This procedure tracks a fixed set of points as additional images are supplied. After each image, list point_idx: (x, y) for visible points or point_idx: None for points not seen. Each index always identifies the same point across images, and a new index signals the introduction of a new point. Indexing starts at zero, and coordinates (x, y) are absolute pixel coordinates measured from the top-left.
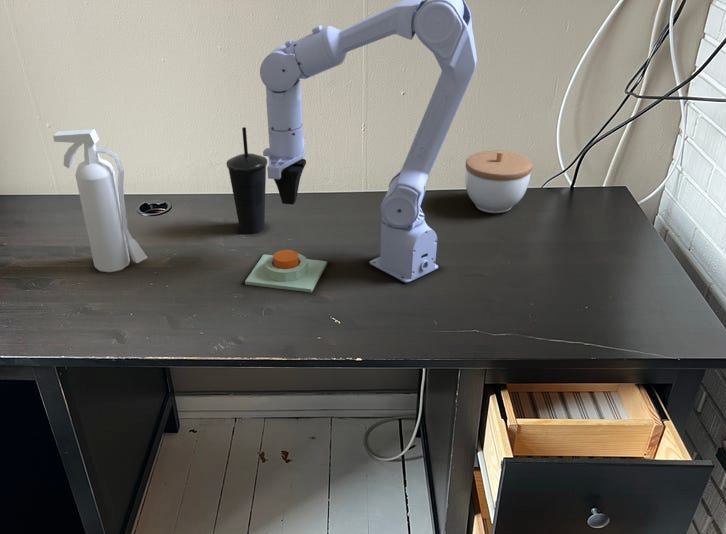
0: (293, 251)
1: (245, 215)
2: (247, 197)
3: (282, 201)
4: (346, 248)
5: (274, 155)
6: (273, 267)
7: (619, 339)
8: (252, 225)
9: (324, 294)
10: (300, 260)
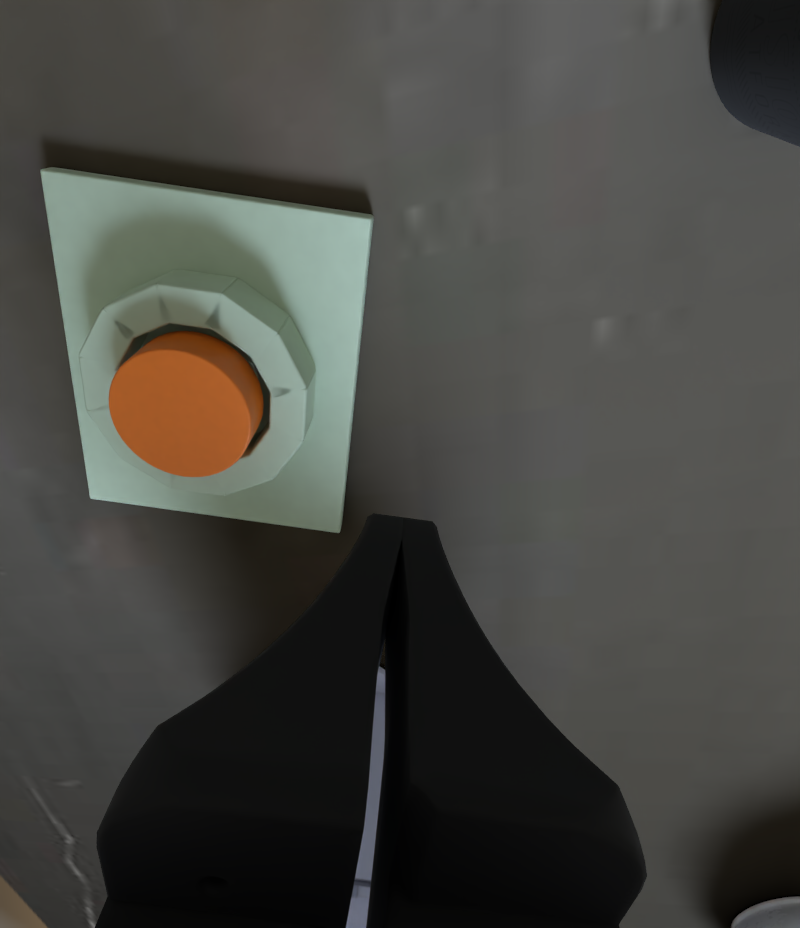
0: (236, 449)
1: None
2: None
3: (366, 525)
4: (496, 581)
5: None
6: (117, 344)
7: None
8: (731, 59)
9: (105, 532)
10: None
